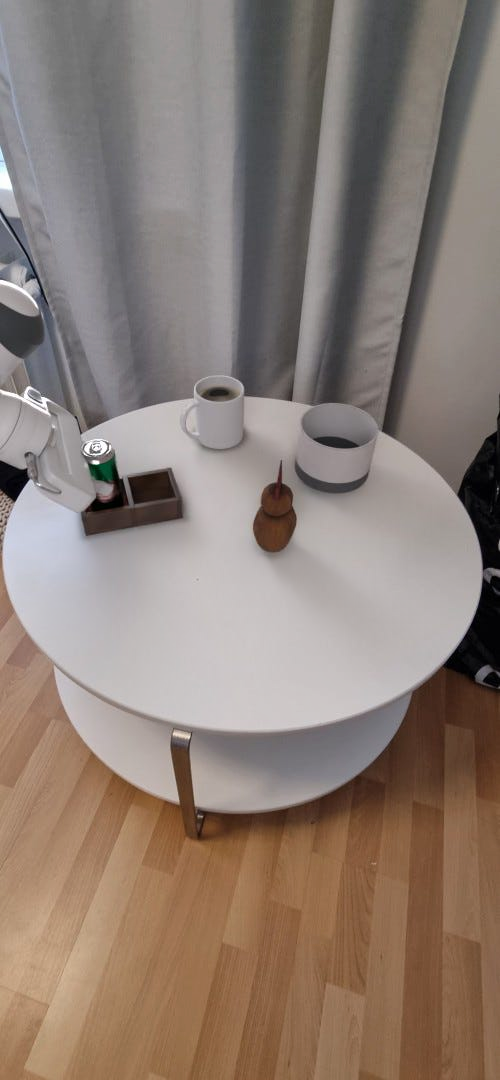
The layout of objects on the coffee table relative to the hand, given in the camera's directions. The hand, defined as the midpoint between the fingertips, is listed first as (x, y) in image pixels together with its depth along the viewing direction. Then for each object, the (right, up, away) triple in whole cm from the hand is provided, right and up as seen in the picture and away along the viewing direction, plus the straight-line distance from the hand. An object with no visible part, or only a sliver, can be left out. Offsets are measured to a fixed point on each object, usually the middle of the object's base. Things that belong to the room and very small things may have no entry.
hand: (105, 476), depth 89 cm
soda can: (-1, -5, +5) cm, 7 cm away
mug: (+15, +10, +21) cm, 28 cm away
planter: (+36, +2, +14) cm, 39 cm away
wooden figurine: (+26, -10, +2) cm, 28 cm away
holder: (+3, -5, +6) cm, 8 cm away
